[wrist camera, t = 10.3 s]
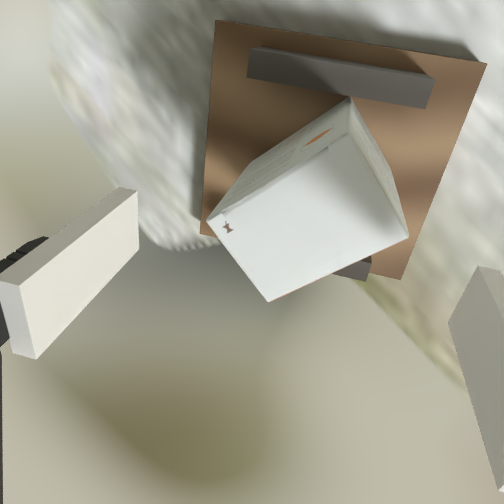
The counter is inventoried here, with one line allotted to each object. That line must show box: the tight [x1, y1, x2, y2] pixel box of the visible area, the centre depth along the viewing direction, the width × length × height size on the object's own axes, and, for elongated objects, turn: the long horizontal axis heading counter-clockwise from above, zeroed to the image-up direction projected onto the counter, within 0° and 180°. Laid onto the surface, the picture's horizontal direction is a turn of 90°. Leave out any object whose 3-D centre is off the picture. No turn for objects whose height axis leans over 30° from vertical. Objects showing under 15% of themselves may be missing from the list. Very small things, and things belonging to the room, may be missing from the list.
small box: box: [206, 97, 409, 302], centre depth 23 cm, size 8×6×10 cm
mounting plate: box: [200, 20, 487, 282], centre depth 27 cm, size 15×16×4 cm
